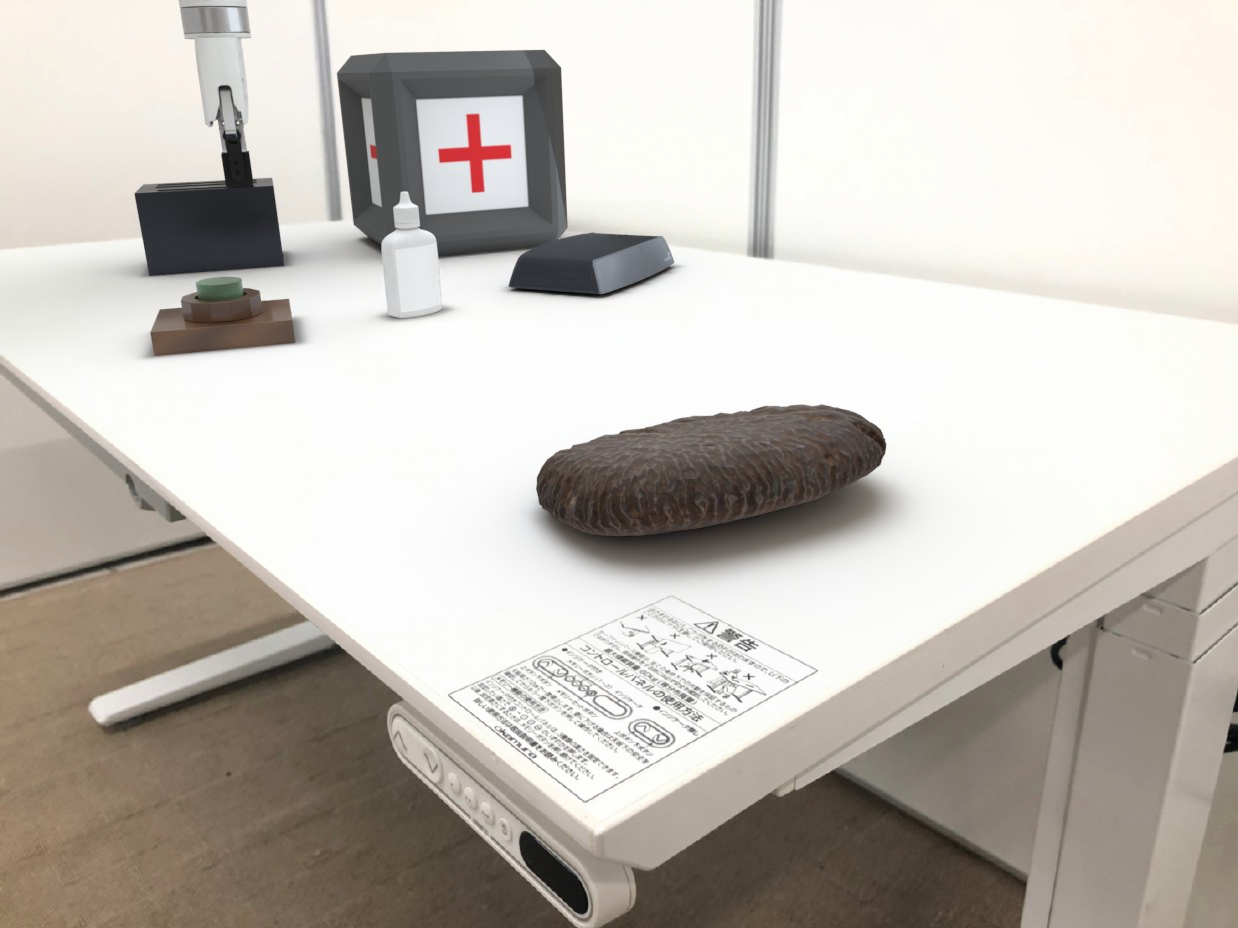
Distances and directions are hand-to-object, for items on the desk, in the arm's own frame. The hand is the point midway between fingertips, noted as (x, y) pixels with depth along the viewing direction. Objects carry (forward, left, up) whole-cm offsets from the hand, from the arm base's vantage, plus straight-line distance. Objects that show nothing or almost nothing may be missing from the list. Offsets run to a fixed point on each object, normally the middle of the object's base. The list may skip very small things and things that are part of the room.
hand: (239, 184), depth 131 cm
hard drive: (+38, -26, -10) cm, 47 cm away
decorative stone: (+25, -92, -10) cm, 96 cm away
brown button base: (-2, -39, -10) cm, 41 cm away
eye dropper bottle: (+16, -36, -10) cm, 41 cm away
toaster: (-4, +4, -10) cm, 12 cm away
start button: (-2, -39, -7) cm, 40 cm away
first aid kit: (+28, +8, -10) cm, 31 cm away
